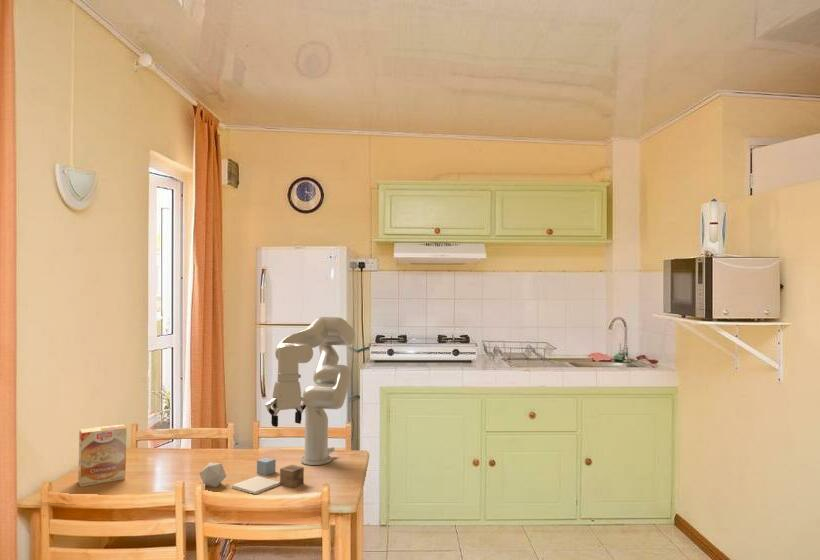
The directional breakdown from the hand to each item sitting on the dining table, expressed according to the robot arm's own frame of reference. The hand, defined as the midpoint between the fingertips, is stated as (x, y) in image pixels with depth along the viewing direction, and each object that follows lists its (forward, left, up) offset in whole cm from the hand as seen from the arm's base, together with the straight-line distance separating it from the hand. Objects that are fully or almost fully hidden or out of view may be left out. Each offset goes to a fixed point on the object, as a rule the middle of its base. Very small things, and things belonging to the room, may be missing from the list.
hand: (286, 424), depth 208 cm
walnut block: (0, +3, -22) cm, 22 cm away
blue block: (-4, -15, -22) cm, 27 cm away
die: (+17, -20, -22) cm, 34 cm away
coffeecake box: (+37, -58, -22) cm, 72 cm away
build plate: (+9, -6, -22) cm, 24 cm away
